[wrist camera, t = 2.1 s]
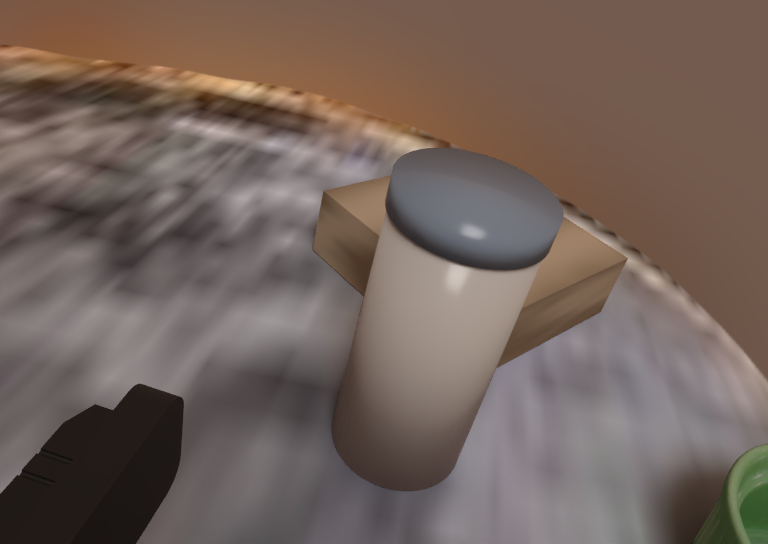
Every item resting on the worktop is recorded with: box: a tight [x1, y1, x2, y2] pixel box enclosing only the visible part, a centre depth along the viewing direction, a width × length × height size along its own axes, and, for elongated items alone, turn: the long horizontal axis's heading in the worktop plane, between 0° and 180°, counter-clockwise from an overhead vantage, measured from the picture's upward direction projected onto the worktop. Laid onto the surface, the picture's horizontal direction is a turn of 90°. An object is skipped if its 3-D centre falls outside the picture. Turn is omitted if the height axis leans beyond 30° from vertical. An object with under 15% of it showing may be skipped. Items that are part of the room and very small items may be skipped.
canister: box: [332, 148, 564, 491], centre depth 24 cm, size 5×5×11 cm
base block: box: [313, 176, 628, 367], centre depth 35 cm, size 11×11×4 cm
